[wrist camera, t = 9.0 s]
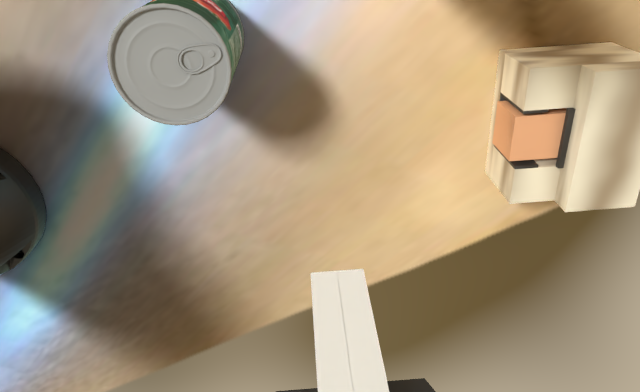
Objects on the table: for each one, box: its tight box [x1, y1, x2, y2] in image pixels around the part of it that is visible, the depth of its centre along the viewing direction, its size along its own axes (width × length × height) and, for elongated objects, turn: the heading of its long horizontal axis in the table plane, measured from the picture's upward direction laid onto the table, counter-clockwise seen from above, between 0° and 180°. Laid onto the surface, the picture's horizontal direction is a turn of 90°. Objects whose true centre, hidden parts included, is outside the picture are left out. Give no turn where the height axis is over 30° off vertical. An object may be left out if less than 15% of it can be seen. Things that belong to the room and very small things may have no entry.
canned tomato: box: [107, 0, 244, 125], centre depth 37 cm, size 8×8×11 cm
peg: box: [492, 101, 567, 161], centre depth 43 cm, size 10×4×4 cm, turn 93°
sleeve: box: [485, 42, 640, 212], centre depth 43 cm, size 10×12×8 cm
